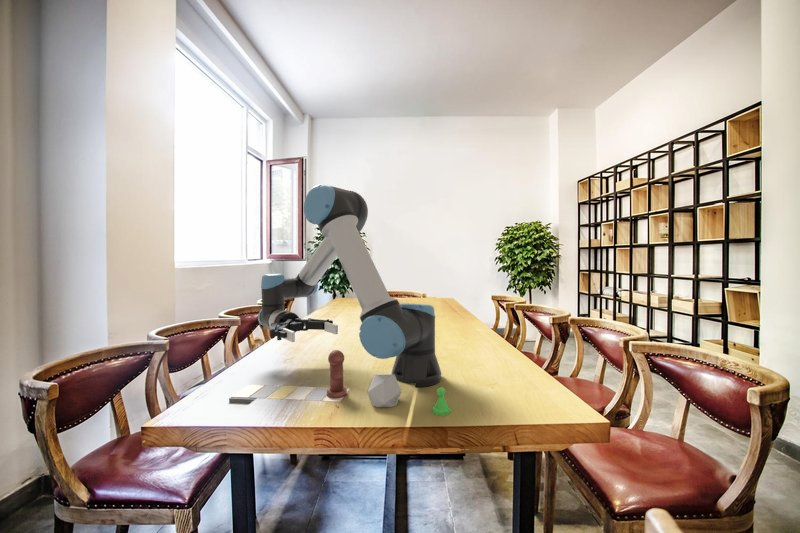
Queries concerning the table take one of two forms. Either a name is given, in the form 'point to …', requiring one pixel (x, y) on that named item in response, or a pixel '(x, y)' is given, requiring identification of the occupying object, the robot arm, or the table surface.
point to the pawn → (336, 375)
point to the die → (384, 391)
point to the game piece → (441, 403)
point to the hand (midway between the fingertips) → (316, 333)
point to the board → (281, 393)
